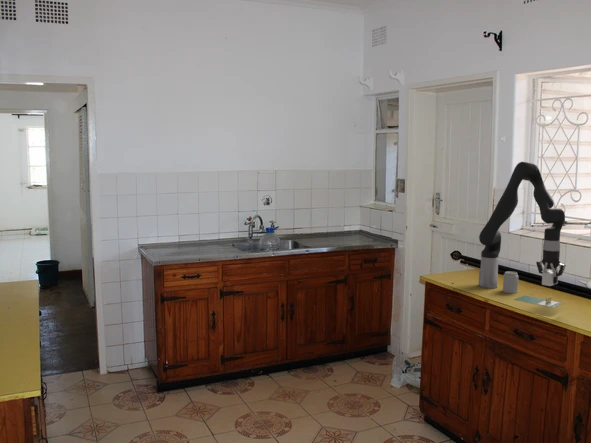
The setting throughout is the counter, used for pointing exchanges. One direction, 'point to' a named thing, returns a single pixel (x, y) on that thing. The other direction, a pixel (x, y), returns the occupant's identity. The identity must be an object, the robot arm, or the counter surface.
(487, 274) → the robot arm
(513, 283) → the can
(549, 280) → the block
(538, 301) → the board
